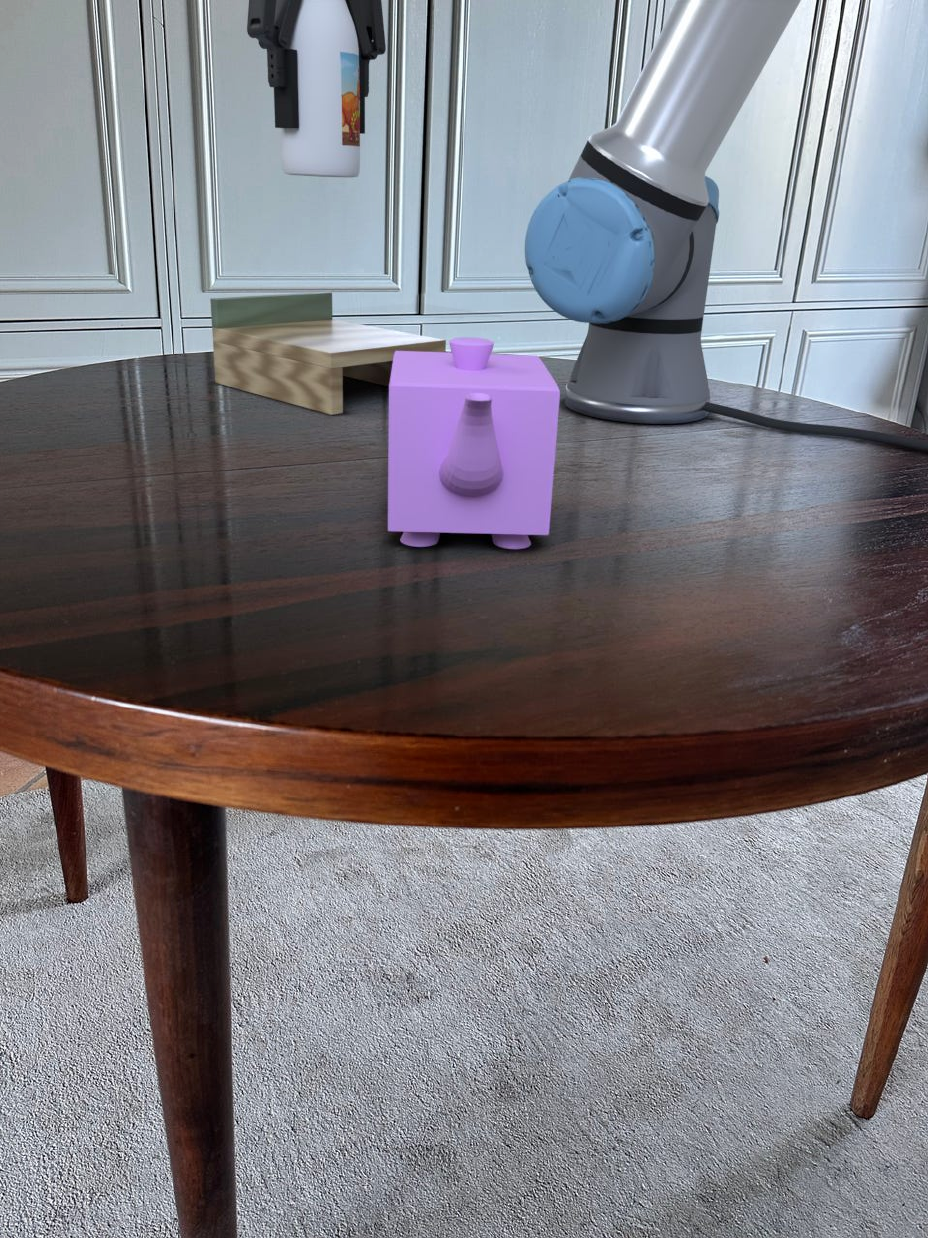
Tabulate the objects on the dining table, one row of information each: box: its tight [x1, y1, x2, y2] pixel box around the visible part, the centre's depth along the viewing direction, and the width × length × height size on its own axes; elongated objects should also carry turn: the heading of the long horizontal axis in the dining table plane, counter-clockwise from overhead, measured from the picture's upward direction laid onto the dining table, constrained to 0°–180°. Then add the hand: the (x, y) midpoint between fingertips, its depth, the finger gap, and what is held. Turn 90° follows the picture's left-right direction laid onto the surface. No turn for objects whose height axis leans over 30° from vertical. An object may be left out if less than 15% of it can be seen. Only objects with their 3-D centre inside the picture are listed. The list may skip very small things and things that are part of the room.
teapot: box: [387, 336, 561, 550], centre depth 64 cm, size 20×10×12 cm, turn 2°
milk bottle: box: [280, 0, 361, 178], centre depth 95 cm, size 8×8×20 cm
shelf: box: [209, 291, 447, 416], centre depth 107 cm, size 20×16×9 cm
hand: (321, 130), depth 98 cm, fingers closed on milk bottle, 8 cm apart
